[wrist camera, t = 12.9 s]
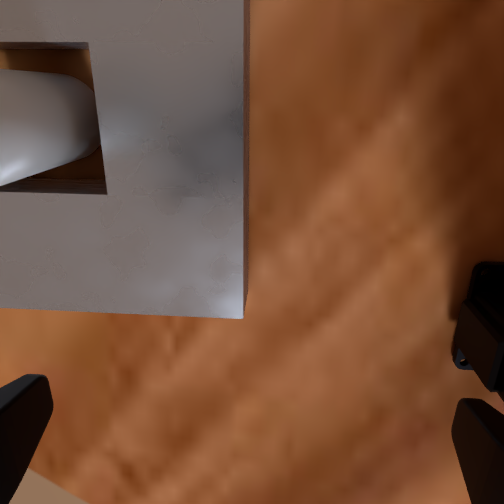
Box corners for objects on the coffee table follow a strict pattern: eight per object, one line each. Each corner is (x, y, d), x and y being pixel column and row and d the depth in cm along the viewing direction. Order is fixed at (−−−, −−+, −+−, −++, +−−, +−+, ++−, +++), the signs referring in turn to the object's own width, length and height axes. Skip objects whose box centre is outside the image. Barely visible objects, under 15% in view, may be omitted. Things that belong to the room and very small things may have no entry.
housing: (250, -123, 16) (243, -168, 13) (248, 290, 22) (243, 318, 20) (-180, -113, 17) (-272, -153, 14) (-60, 277, 24) (-105, 302, 21)
